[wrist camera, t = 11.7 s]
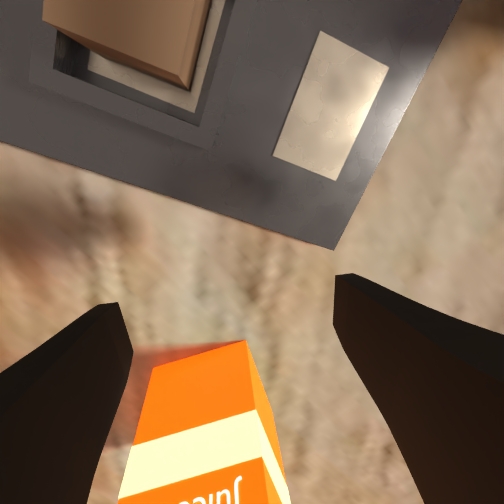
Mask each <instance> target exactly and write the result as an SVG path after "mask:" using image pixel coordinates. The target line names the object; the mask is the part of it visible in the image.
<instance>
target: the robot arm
mask: <svg viewBox="0 0 504 504" xmlns="http://www.w3.org/2000/svg"><path fill="white" fill-rule="evenodd" d="M333 326H334V328H335V331H336V333H337V336H338V338H339V340H340V342H341V345H342V347H343V349H344V351H345V353H346V355H347V356H348V358H349V360H350V361H351V363H352V365H353V367H354V368H355V370H356V372H357V373H358V375H359V377H360V378H361V380H362V382H363V383H364V385H365V387H366V388H367V390H368V392H369V393H370V395H371V397H372V398H373V400H374V402H375V403H376V405H377V407H378V408H379V410H380V412H381V414H382V415H383V417H384V419H385V421H386V423H387V425H388V426H389V428H390V430H391V433H392V435H393V437H394V439H395V441H396V443H397V445H398V447H399V449H400V451H401V453H402V456H403V458H404V460H405V462H406V464H407V466H408V468H409V471H410V473H411V475H412V477H413V479H414V482H415V484H416V486H417V488H418V490H419V493H420V495H421V497H422V499H423V501H424V504H504V335H503V334H500V333H497V332H493V331H490V330H488V329H485V328H482V327H479V326H476V325H473V324H470V323H467V322H464V321H462V320H459V319H456V318H454V317H451V316H449V315H446V314H444V313H441V312H439V311H436V310H434V309H432V308H429V307H427V306H424V305H422V304H420V303H418V302H415V301H413V300H411V299H409V298H406V297H404V296H402V295H400V294H398V293H396V292H394V291H391V290H389V289H387V288H385V287H383V286H381V285H379V284H377V283H375V282H372V281H370V280H368V279H366V278H364V277H361V276H359V275H356V274H354V273H351V274H343V275H335V293H334V312H333ZM133 352H134V351H133V348H132V345H131V342H130V339H129V335H128V332H127V329H126V326H125V323H124V319H123V316H122V313H121V310H120V307H119V304H118V302H115V303H107V304H99V305H97V306H95V307H94V308H92V309H90V310H89V311H88V312H86V313H85V314H83V315H82V316H80V317H79V318H78V319H76V320H75V321H73V322H72V323H71V324H69V325H68V326H67V327H65V328H64V329H63V330H61V331H60V332H58V333H57V334H56V335H54V336H53V337H52V338H50V339H49V340H47V341H46V342H45V343H43V344H42V345H41V346H39V347H38V348H36V349H35V350H33V351H32V352H31V353H29V354H28V355H26V356H25V357H23V358H22V359H20V360H19V361H17V362H16V363H14V364H13V365H12V366H10V367H9V368H7V369H6V370H4V371H3V372H1V373H0V504H87V500H88V497H89V493H90V489H91V485H92V481H93V478H94V474H95V471H96V468H97V465H98V462H99V459H100V456H101V453H102V450H103V447H104V445H105V442H106V439H107V436H108V434H109V431H110V428H111V425H112V423H113V420H114V417H115V414H116V412H117V409H118V406H119V403H120V400H121V398H122V395H123V392H124V389H125V386H126V383H127V380H128V376H129V371H130V367H131V362H132V357H133Z"/></svg>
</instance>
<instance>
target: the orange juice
mask: <svg viewBox="0 0 504 504" xmlns="http://www.w3.org/2000/svg"><path fill="white" fill-rule="evenodd" d="M118 499H119V501H118V504H291V502H290V497H289V492H288V488H287V485H286V480H285V475H284V470H283V465H282V460H281V454H280V449H279V444H278V439H277V434H276V429H275V424H274V419H273V414H272V410H271V408H270V405H269V402H268V399H267V397H266V394H265V391H264V388H263V386H262V383H261V380H260V378H259V375H258V372H257V369H256V367H255V364H254V361H253V358H252V356H251V353H250V350H249V348H248V345H247V342H246V340H245V341H241V342H238V343H235V344H231V345H228V346H225V347H221V348H218V349H214V350H211V351H208V352H204V353H201V354H198V355H194V356H191V357H188V358H184V359H181V360H178V361H174V362H171V363H168V364H164V365H161V366H158V367H154V368H153V370H152V374H151V378H150V382H149V386H148V390H147V393H146V397H145V401H144V405H143V409H142V413H141V417H140V420H139V424H138V428H137V432H136V436H135V440H134V443H133V446H132V447H131V451H130V455H129V459H128V462H127V466H126V470H125V474H124V478H123V481H122V485H121V489H120V493H119V497H118Z"/></svg>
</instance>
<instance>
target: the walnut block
mask: <svg viewBox="0 0 504 504" xmlns="http://www.w3.org/2000/svg"><path fill="white" fill-rule="evenodd" d="M211 3H212V0H44V2H43V16H42V20H43V21H44V22H46V23H48V24H49V25H51V26H53V27H54V28H56V29H57V30H59V31H61V32H62V33H64V34H66V35H67V36H69V37H70V38H72V39H74V40H75V41H77V42H79V43H80V44H82V45H83V46H85V47H87V48H88V49H90V50H92V51H93V52H95V53H96V54H98V55H100V56H101V57H103V58H105V59H108V60H110V61H113V62H115V63H118V64H120V65H123V66H125V67H128V68H130V69H133V70H135V71H138V72H141V73H143V74H146V75H148V76H151V77H153V78H156V79H158V80H161V81H163V82H166V83H168V84H171V85H173V86H176V87H178V88H181V89H183V90H186V91H188V92H190V91H191V87H192V82H193V78H194V74H195V70H196V66H197V62H198V57H199V53H200V49H201V45H202V41H203V37H204V32H205V28H206V24H207V20H208V16H209V12H210V7H211Z"/></svg>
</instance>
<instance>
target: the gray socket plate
mask: <svg viewBox="0 0 504 504" xmlns="http://www.w3.org/2000/svg"><path fill="white" fill-rule="evenodd" d="M43 2H44V0H0V141H3V142H6V143H9V144H12V145H15V146H18V147H21V148H24V149H27V150H30V151H33V152H36V153H39V154H42V155H45V156H48V157H51V158H54V159H57V160H60V161H63V162H66V163H69V164H72V165H75V166H79V167H82V168H85V169H88V170H91V171H94V172H97V173H100V174H103V175H106V176H109V177H112V178H115V179H118V180H121V181H124V182H127V183H130V184H133V185H136V186H139V187H142V188H145V189H148V190H151V191H154V192H157V193H160V194H163V195H166V196H170V197H173V198H176V199H179V200H182V201H185V202H188V203H191V204H194V205H197V206H200V207H203V208H206V209H209V210H212V211H215V212H218V213H221V214H224V215H227V216H230V217H233V218H236V219H239V220H242V221H245V222H248V223H251V224H254V225H258V226H261V227H264V228H267V229H270V230H273V231H276V232H279V233H282V234H285V235H288V236H291V237H294V238H297V239H300V240H303V241H306V242H309V243H312V244H315V245H318V246H321V247H324V248H327V249H330V250H333V251H334V249H335V247H336V245H337V243H338V241H339V240H340V238H341V236H342V234H343V232H344V230H345V228H346V226H347V224H348V222H349V220H350V218H351V216H352V214H353V212H354V210H355V208H356V206H357V204H358V203H359V201H360V199H361V197H362V195H363V193H364V191H365V189H366V187H367V185H368V183H369V181H370V179H371V177H372V175H373V173H374V171H375V169H376V167H377V166H378V164H379V162H380V160H381V158H382V156H383V154H384V152H385V150H386V148H387V146H388V144H389V142H390V140H391V138H392V136H393V134H394V132H395V130H396V129H397V127H398V125H399V123H400V121H401V119H402V117H403V115H404V113H405V111H406V109H407V107H408V105H409V103H410V101H411V99H412V97H413V95H414V94H415V92H416V90H417V88H418V86H419V84H420V82H421V80H422V78H423V76H424V74H425V72H426V70H427V68H428V66H429V64H430V62H431V60H432V58H433V57H434V55H435V53H436V51H437V49H438V47H439V45H440V43H441V41H442V39H443V37H444V35H445V33H446V31H447V29H448V27H449V25H450V23H451V21H452V20H453V18H454V16H455V14H456V12H457V10H458V8H459V6H460V4H461V2H462V0H212V3H211V7H210V12H209V16H208V20H207V24H206V28H205V32H204V37H203V41H202V45H201V49H200V53H199V57H198V62H197V66H196V70H195V74H194V78H193V82H192V87H191V91H190V92H188V91H186V90H183V89H181V88H178V87H176V86H173V85H171V84H168V83H166V82H163V81H161V80H158V79H156V78H153V77H151V76H148V75H146V74H143V73H141V72H138V71H135V70H133V69H130V68H128V67H125V66H123V65H120V64H118V63H115V62H113V61H110V60H108V59H105V58H103V57H101V56H100V55H98V54H96V53H95V52H93V51H92V50H90V49H88V48H87V47H85V46H83V45H82V44H80V43H79V42H77V41H75V40H74V39H72V38H70V37H69V36H67V35H66V34H64V33H62V32H61V31H59V30H57V29H56V28H54V27H53V26H51V25H49V24H48V23H46V22H44V21H43V20H42V16H43Z"/></svg>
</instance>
